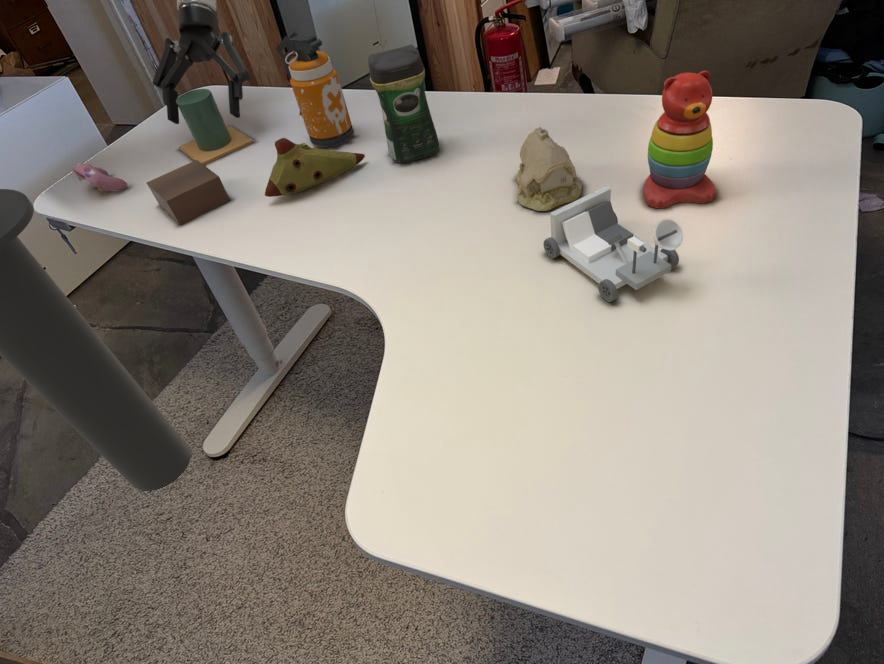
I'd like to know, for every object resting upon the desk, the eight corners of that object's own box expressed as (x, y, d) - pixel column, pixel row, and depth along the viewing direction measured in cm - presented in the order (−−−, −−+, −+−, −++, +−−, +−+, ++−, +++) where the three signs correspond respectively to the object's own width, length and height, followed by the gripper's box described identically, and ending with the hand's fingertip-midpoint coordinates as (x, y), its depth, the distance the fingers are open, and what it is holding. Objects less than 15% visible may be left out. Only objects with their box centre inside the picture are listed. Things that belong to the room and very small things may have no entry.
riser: (159, 206, 113) (146, 182, 110) (208, 183, 117) (196, 159, 114) (180, 225, 108) (166, 200, 104) (230, 200, 111) (218, 176, 108)
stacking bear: (648, 210, 93) (658, 95, 80) (634, 176, 100) (642, 66, 87) (719, 202, 92) (741, 84, 80) (701, 168, 99) (718, 56, 87)
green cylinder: (193, 145, 128) (170, 98, 121) (223, 132, 131) (202, 85, 124) (206, 154, 125) (183, 107, 117) (237, 141, 127) (216, 93, 120)
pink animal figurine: (95, 190, 124) (62, 170, 118) (108, 172, 125) (75, 151, 119) (117, 203, 119) (83, 182, 113) (130, 184, 120) (97, 162, 114)
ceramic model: (593, 200, 97) (594, 142, 90) (526, 217, 96) (522, 159, 89) (563, 160, 107) (562, 104, 99) (502, 175, 106) (496, 120, 98)
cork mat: (179, 149, 129) (177, 146, 129) (229, 127, 134) (228, 124, 134) (201, 166, 123) (200, 163, 122) (253, 142, 127) (252, 139, 127)
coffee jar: (433, 137, 119) (414, 36, 105) (444, 154, 113) (425, 50, 100) (385, 150, 117) (360, 49, 104) (394, 168, 112) (369, 65, 99)
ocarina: (360, 157, 117) (346, 106, 109) (373, 167, 113) (359, 115, 106) (264, 199, 110) (241, 148, 103) (274, 210, 107) (252, 159, 100)
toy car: (702, 217, 74) (630, 255, 71) (692, 279, 81) (626, 316, 78) (606, 163, 85) (540, 194, 82) (604, 222, 93) (543, 252, 89)
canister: (334, 153, 119) (300, 46, 105) (295, 144, 124) (257, 41, 110) (363, 132, 124) (334, 27, 110) (324, 124, 129) (291, 23, 114)
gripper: (264, 16, 126) (269, 119, 126) (154, 29, 129) (160, 130, 129) (245, -4, 118) (251, 105, 119) (129, 11, 121) (135, 117, 122)
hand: (204, 118), depth 124 cm, fingers open, 13 cm apart
